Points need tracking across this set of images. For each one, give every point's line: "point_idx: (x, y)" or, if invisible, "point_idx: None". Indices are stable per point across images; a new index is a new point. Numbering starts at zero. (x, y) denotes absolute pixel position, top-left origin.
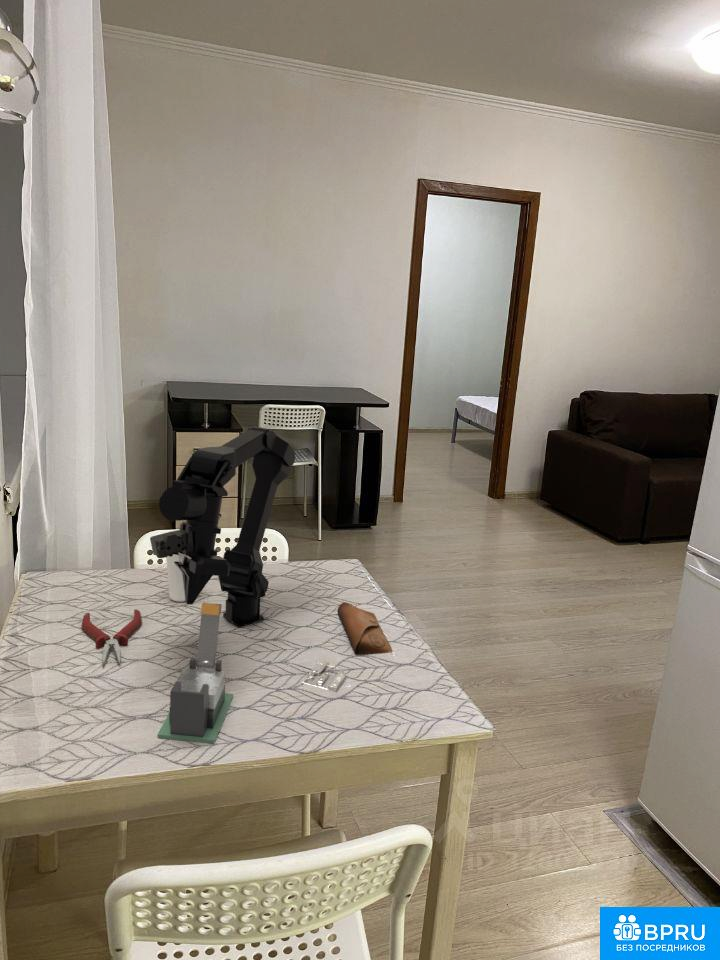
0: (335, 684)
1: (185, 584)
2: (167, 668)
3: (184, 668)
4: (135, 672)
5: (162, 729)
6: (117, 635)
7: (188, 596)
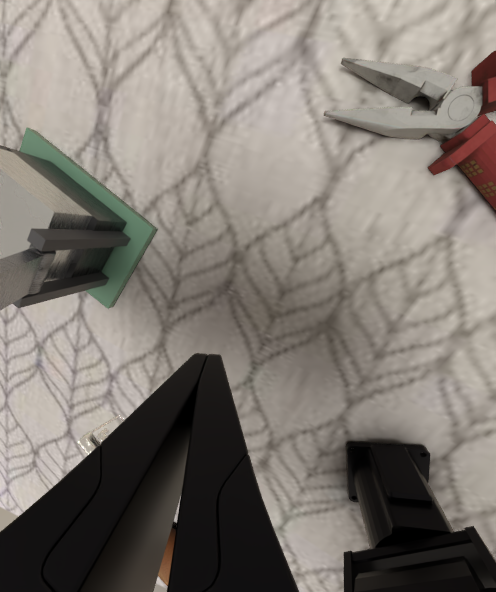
0: (84, 446)
1: (188, 462)
2: (257, 235)
3: (52, 214)
4: (276, 155)
5: (39, 142)
6: (479, 130)
7: (162, 387)
